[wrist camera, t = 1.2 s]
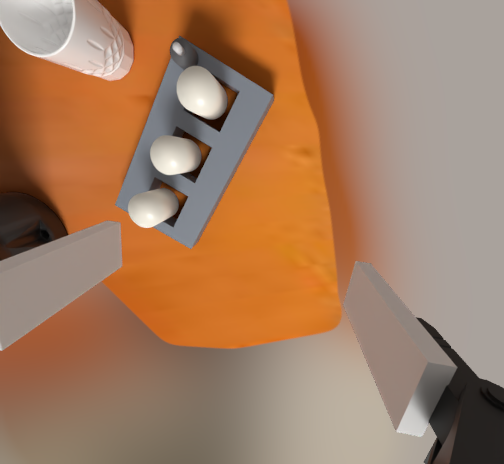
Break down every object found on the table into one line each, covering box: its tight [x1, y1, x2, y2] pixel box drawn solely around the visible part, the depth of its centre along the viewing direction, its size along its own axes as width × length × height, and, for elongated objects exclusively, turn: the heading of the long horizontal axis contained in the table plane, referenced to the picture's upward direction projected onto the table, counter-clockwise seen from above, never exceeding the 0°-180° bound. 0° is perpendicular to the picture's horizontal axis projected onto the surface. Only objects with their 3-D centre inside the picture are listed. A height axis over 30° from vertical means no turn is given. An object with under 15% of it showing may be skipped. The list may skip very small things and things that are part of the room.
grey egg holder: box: [115, 36, 274, 249], centre depth 30 cm, size 12×22×6 cm, turn 150°
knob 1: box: [128, 188, 179, 228], centre depth 30 cm, size 4×4×5 cm
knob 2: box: [177, 66, 228, 120], centre depth 26 cm, size 4×4×5 cm
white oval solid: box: [150, 135, 201, 175], centre depth 28 cm, size 4×4×5 cm
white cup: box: [0, 0, 134, 81], centre depth 26 cm, size 8×8×10 cm
